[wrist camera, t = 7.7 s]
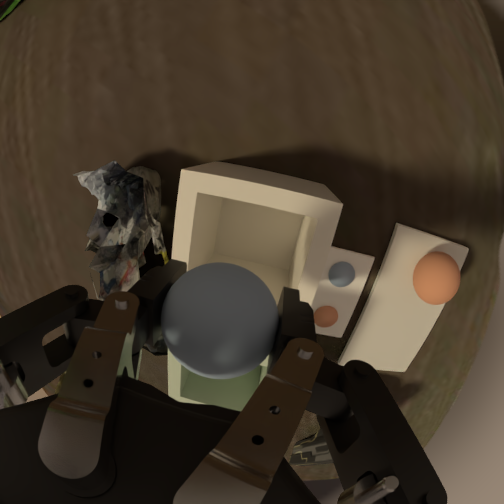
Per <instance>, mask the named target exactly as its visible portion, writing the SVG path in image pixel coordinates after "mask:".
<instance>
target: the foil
mask: <svg viewBox="0 0 504 504" xmlns="http://www.w3.org/2000/svg"><path fill="white" fill-rule="evenodd" d="M73 175H74V176H78V180H79V182H80V183H81V186H84V187H87V188H88V189H89V190H90V192H91V194H92V195H95V196H96V197H97V198H98V199H99V202H98V208H97V211H96V213H95V216H94V218H93V220H92V223H91V225H90V228H89V230H88V233H87V235H86V236H88V237H89V238H90V239H89V241H88V244H87V246H86V250H85V251H88V250H91V251H93V252H95V253H96V255H95V257H94V258H93V260H92V262H91V264H90V266H89V267H90V268H92V269H94V270H96V271H97V272H99V273H100V294H99V300H102V301H105V299H106V297H107V296H108V295H110V294H111V293H114V292H119V291H125V292H127V291H128V290H129V289H130V288H131V287H132V286H133V285H134V284H135V283H136V282H137V281H138V280H140V275H139V268H140V267H141V266H143V265H144V264H146V260H145V256H144V250H145V248H146V246H147V244H148V242H149V240H150V239H151V237H152V238H153V245H154V251H155V254H162V255H163V258H164V261H165V264H166V263H167V262H168V261H169V260H168V257H167V253H166V249H165V245H164V241H163V235H162V230H161V224H160V222H158V219H159V218H160V212H161V178H160V175H159V173H158V172H157V171H156V170H151V169H149V168H145V167H142V166H139V167H132V168H131V169H129V170H127V171H125V170H124V169H123V168H122V167H121V166H120V165H119V164H118V163H117V162H116V161H113V162H110V163H108V164H107V165H105V166H103V167H101V168H99V169H97V170H96V171H91V172H85V171H82V172H79V173H76V174H73ZM107 212H108V213H111V214H113V215H114V216H116V217H118V218H119V219H118V220H117V222H116V223H115V225H114V226H111V227H110V226H107V227H106V226H105V225H104V224H103V217H102V216H103V215H104V214H106V213H107ZM90 274H91V273H90ZM91 278H92V277H91ZM92 281H93V280H92ZM93 285H94V284H93ZM94 288H95V287H94ZM95 292H96V290H95ZM96 295H97V294H96ZM97 299H98V297H97ZM144 345H145V346H146V347H145V346H143V347H142V348H144V349H146V350H148V351H149V352H151V353H152V354H154V355H155V356H159V355H168V347H167V345H166V343H165V340H164V337H163V334H161V335H160V337H159V338H158V340H157V342H156V343H155V345H154V346H151V345H148V344H144Z"/></svg>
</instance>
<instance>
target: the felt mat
mask: <svg viewBox="0 0 504 504" xmlns="http://www.w3.org/2000/svg"><path fill="white" fill-rule="evenodd" d="M435 251H439V252H444V253H447V254H448V255H450V256H451V257H452V258H453V259H454V260H455V261H456V263H457V265H458V267H459V270H460V271H461V268H462V266H463V263H464V261H465V258H466V256H467V253H468V251H469V249H468V248H467V247H465V246H463V245H460V244H457V243H455V242H452V241H449V240H446V239H444V238H441V237H438V236H435V235H432V234H429V233H426V232H423V231H420V230H417V229H414V228H411V227H408V226H405V225H402V224H399V223H396V225H395V228H394V231H393V234H392V237H391V240H390V242H389V245H388V248H387V251H386V254H385V256H384V259H383V262H382V264H381V267H380V270H379V272H378V275H377V277H376V280H375V282H374V285H373V287H372V290H371V292H370V294H369V297H368V299H367V301H366V304H365V306H364V308H363V310H362V313H361V315H360V317H359V319H358V321H357V323H356V326H355V328H354V330H353V332H352V334H351V336H350V338H349V340H348V342H347V344H346V346H345V348H344V350H343V352H342V354H341V356H340V358H339V360H338V364H339V365H342V366H344V365H345V364H346V363H347V362H348V361H350V360H361V361H364V362H367V363H368V364H370V365H371V366H373V367H374V368H375V369H376V370H386V371H398V372H405V371H406V369H407V368H408V366H409V365H410V363H411V362H412V360H413V359H414V357H415V356H416V354H417V353H418V351H419V349H420V348H421V346H422V344H423V343H424V341H425V339H426V338H427V336H428V334H429V333H430V331H431V329H432V327H433V326H434V324H435V322H436V320H437V318H438V316H439V315H440V313H441V311H442V309H443V307H444V305H445V303H443V304H440V305H432V304H428V303H426V302H424V301H423V300H422V299H421V298H420V297H419V296H418V295H417V293H416V291H415V289H414V286H413V272H414V269H415V267H416V265H417V263H418V261H419V260H420V259H421V258H422V257H423V256H425V255H426V254H428V253H430V252H435Z"/></svg>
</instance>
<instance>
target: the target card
mask: <svg viewBox="0 0 504 504" xmlns="http://www.w3.org/2000/svg"><path fill="white" fill-rule="evenodd" d="M374 259H375V257H374V256H370V255H366V254H362V253H358V252H354V251H350V250H346V249H342V248H338V247H334V246H331V248H330V251H329V254H328V257H327V260H326V264H325V267H324V270H323V273H322V276H321V279H320V282H319V285H318V288H317V290H316V293H315V296H314V299H313V302H312V305H311V308H312V309H313V313H314V322H315V323H314V324H315V331H316V333H317V334H322V335H328V336H333V337H339V338H342V336H343V333H344V331H345V329H346V327H347V325H348V323H349V320H350V318H351V316H352V314H353V311H354V309H355V307H356V304H357V302H358V300H359V297H360V295H361V293H362V290H363V288H364V285H365V283H366V280H367V278H368V275H369V272H370V270H371V267H372V264H373V262H374Z"/></svg>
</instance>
